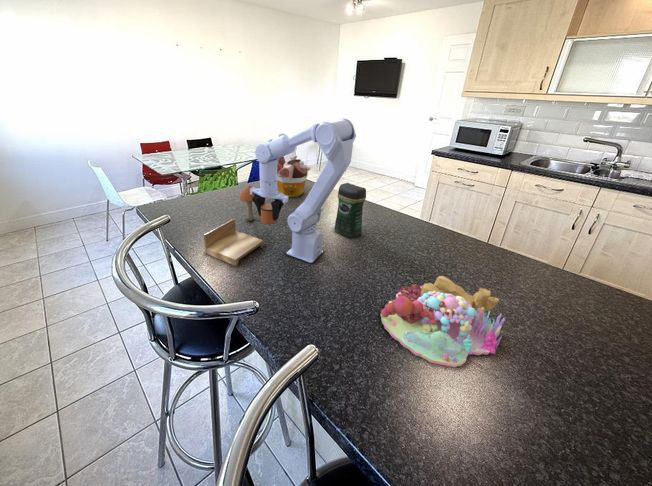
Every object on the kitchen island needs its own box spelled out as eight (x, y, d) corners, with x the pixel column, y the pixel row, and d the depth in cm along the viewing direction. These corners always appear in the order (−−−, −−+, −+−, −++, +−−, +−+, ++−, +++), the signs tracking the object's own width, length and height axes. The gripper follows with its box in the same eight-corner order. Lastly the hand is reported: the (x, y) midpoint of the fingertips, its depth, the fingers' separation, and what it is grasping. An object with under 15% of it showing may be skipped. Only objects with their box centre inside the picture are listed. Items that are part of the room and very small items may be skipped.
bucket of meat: (315, 193, 146) (318, 153, 138) (295, 203, 134) (297, 160, 126) (284, 184, 157) (285, 147, 149) (263, 192, 146) (263, 153, 137)
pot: (279, 219, 103) (280, 205, 101) (270, 226, 99) (270, 211, 97) (266, 215, 106) (266, 201, 104) (257, 221, 102) (256, 207, 99)
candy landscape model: (406, 278, 85) (412, 251, 81) (503, 318, 72) (516, 287, 68) (369, 329, 67) (374, 298, 63) (488, 395, 54) (505, 360, 50)
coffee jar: (364, 233, 109) (371, 186, 102) (351, 240, 105) (357, 191, 97) (343, 224, 116) (349, 179, 108) (330, 230, 111) (335, 183, 103)
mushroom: (250, 227, 112) (249, 190, 106) (236, 221, 117) (234, 185, 110) (264, 219, 118) (264, 184, 112) (250, 214, 122) (248, 180, 116)
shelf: (263, 246, 100) (263, 228, 97) (235, 266, 89) (234, 246, 86) (234, 235, 106) (233, 218, 103) (205, 253, 95) (203, 234, 92)
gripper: (293, 180, 96) (292, 218, 101) (258, 173, 103) (259, 208, 108) (281, 186, 90) (281, 225, 96) (245, 178, 97) (246, 215, 103)
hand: (268, 217), depth 102 cm, fingers closed on pot, 5 cm apart
